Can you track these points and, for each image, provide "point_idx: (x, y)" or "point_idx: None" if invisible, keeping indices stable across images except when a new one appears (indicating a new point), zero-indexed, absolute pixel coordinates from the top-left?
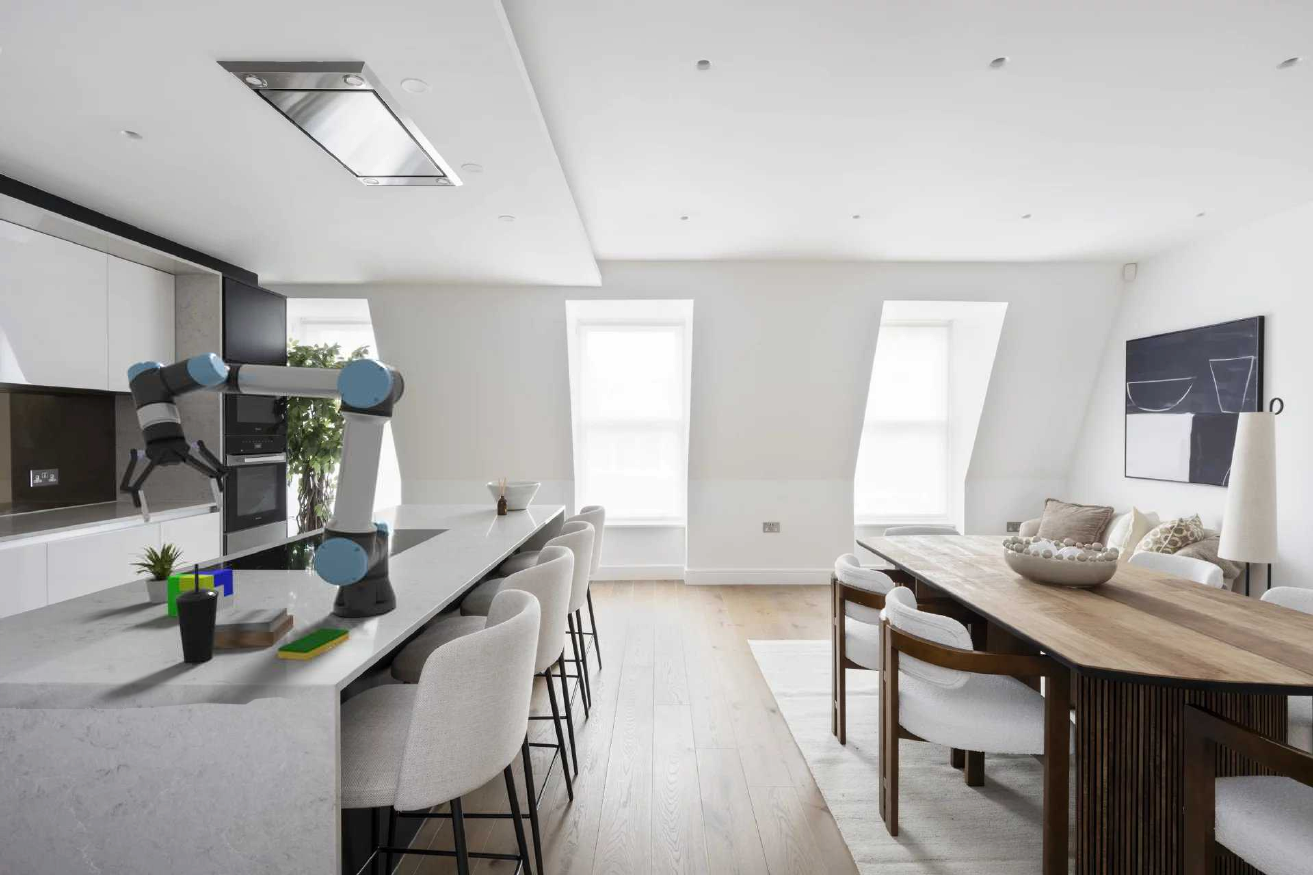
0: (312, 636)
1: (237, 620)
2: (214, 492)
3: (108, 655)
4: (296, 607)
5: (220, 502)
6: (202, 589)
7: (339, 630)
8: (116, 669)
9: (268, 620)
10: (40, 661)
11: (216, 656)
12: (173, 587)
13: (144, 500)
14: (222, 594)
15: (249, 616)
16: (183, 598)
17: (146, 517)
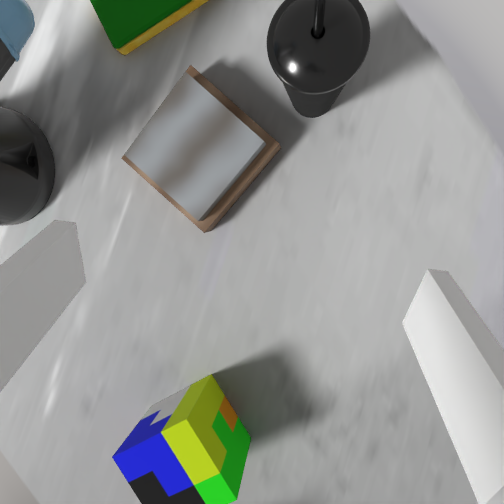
0: (147, 3)
1: (223, 138)
2: (24, 314)
3: (401, 260)
4: (81, 292)
5: (59, 226)
6: (308, 18)
7: (100, 1)
8: (419, 159)
9: (183, 83)
10: (485, 322)
11: None
12: (233, 467)
13: (489, 359)
14: (161, 411)
15: (196, 150)
16: (358, 12)
17: (446, 273)
